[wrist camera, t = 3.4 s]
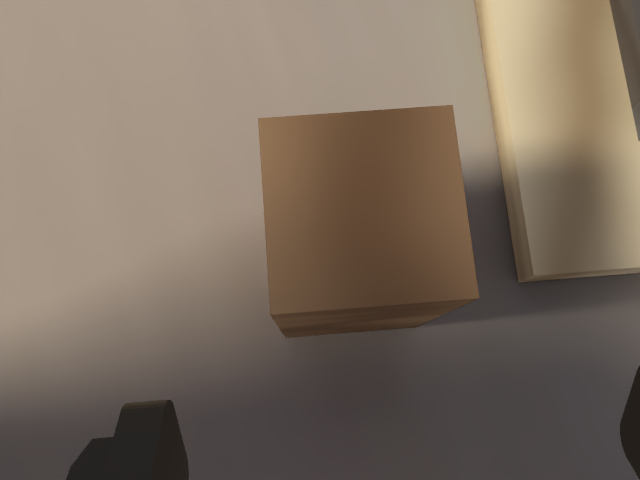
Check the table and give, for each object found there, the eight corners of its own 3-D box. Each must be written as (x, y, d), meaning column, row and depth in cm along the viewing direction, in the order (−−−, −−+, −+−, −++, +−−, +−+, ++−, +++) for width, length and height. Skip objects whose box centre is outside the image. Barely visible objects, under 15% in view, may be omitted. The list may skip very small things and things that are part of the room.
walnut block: (285, 337, 21) (270, 314, 13) (276, 210, 22) (257, 118, 14) (416, 327, 21) (479, 298, 13) (401, 201, 22) (452, 104, 14)
